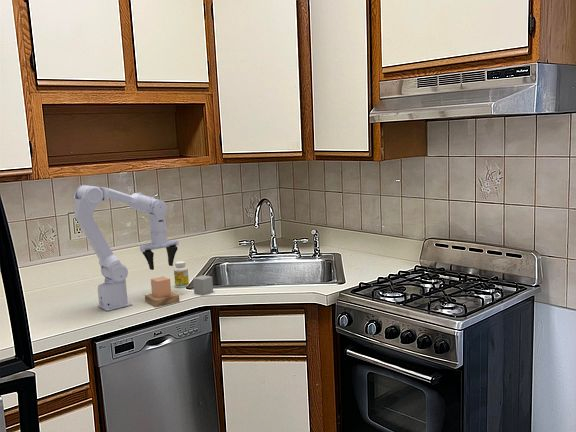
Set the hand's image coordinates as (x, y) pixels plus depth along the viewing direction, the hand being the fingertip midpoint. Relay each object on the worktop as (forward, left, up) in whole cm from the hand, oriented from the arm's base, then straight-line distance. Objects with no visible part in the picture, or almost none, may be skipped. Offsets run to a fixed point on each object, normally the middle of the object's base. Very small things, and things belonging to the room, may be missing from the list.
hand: (161, 267), depth 216 cm
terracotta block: (-5, -8, -8) cm, 12 cm away
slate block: (+12, -9, -11) cm, 18 cm away
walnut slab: (-5, -8, -11) cm, 14 cm away
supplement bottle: (+11, +6, -11) cm, 16 cm away
